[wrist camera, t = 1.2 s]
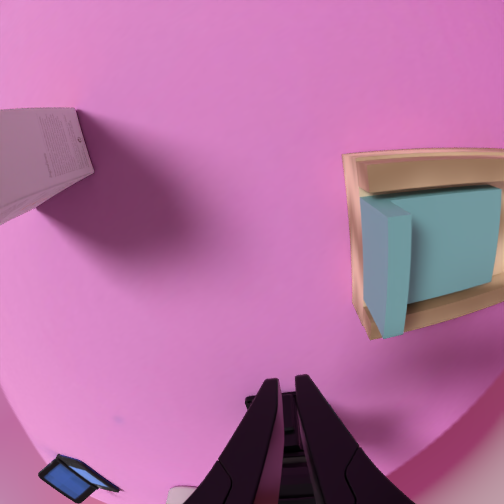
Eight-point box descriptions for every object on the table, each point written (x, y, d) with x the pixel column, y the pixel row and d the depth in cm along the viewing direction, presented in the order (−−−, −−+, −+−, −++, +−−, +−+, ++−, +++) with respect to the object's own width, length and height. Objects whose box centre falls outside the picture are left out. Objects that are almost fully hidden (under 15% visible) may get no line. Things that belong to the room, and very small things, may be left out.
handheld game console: (122, 489, 46) (113, 517, 37) (88, 480, 48) (78, 504, 39) (80, 458, 40) (66, 489, 32) (48, 449, 43) (35, 475, 34)
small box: (77, 106, 16) (-35, 109, 6) (97, 173, 18) (-13, 215, 8) (16, 152, 17) (-76, 179, 8) (34, 209, 19) (-55, 257, 10)
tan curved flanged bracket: (501, 267, 19) (530, 291, 15) (352, 302, 21) (369, 342, 16) (509, 149, 15) (547, 157, 11) (341, 154, 17) (366, 160, 12)
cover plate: (480, 272, 16) (511, 299, 12) (363, 299, 17) (383, 339, 14) (488, 184, 14) (527, 199, 10) (359, 197, 15) (387, 217, 11)
